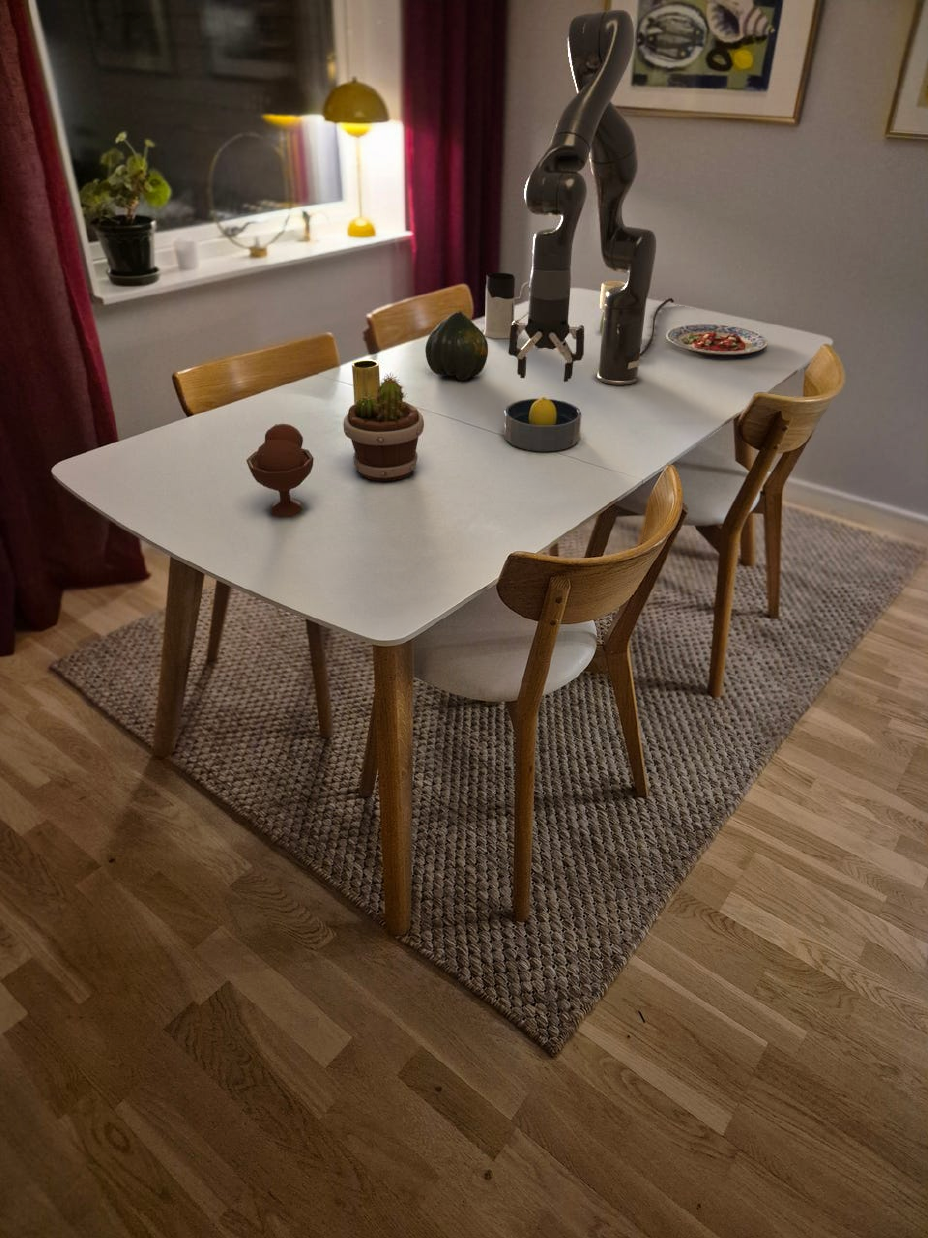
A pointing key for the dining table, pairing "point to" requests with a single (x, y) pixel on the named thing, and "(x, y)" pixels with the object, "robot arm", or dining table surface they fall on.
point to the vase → (365, 378)
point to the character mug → (604, 289)
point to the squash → (457, 348)
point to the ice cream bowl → (282, 466)
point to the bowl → (542, 427)
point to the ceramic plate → (717, 339)
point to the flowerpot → (384, 433)
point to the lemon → (542, 413)
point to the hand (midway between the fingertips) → (544, 378)
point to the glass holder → (500, 304)
